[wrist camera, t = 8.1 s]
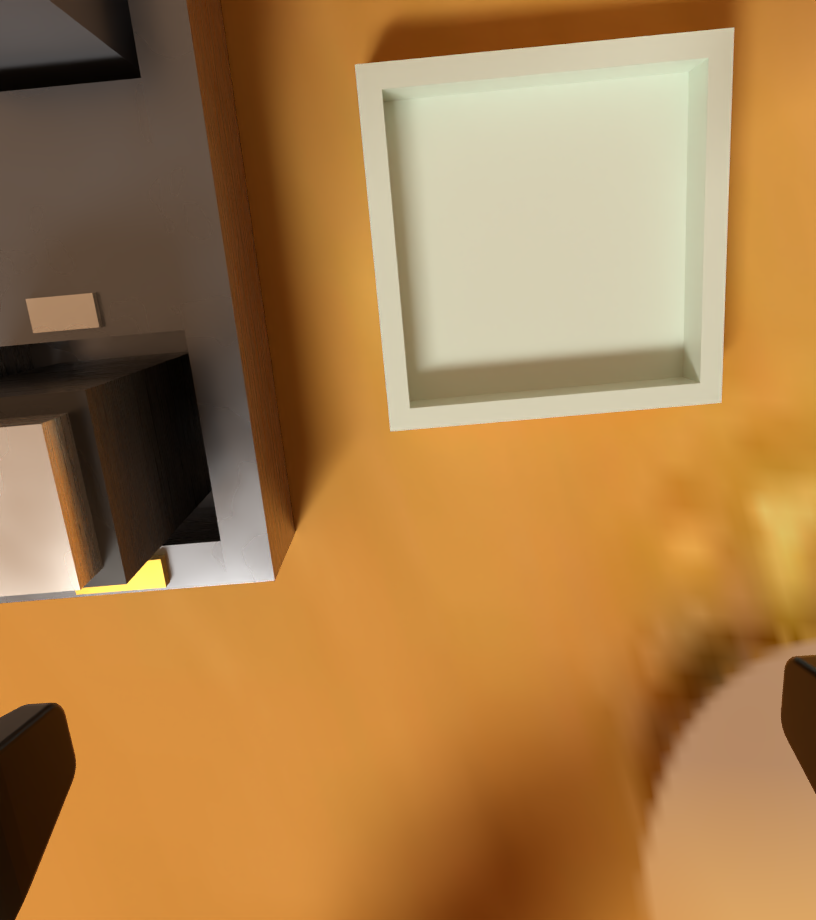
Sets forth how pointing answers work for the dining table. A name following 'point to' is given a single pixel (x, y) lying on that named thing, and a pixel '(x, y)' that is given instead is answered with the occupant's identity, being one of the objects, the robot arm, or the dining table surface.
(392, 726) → the dining table surface
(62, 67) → the plug
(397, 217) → the tray
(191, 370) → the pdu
